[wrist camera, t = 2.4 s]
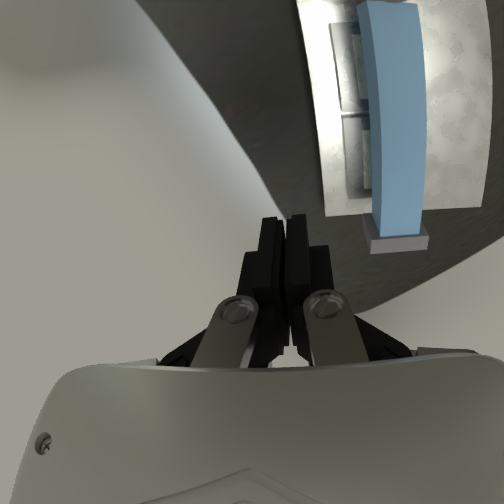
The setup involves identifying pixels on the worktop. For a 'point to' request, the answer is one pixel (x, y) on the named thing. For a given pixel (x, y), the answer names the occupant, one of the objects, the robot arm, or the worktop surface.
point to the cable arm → (395, 124)
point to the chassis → (437, 98)
